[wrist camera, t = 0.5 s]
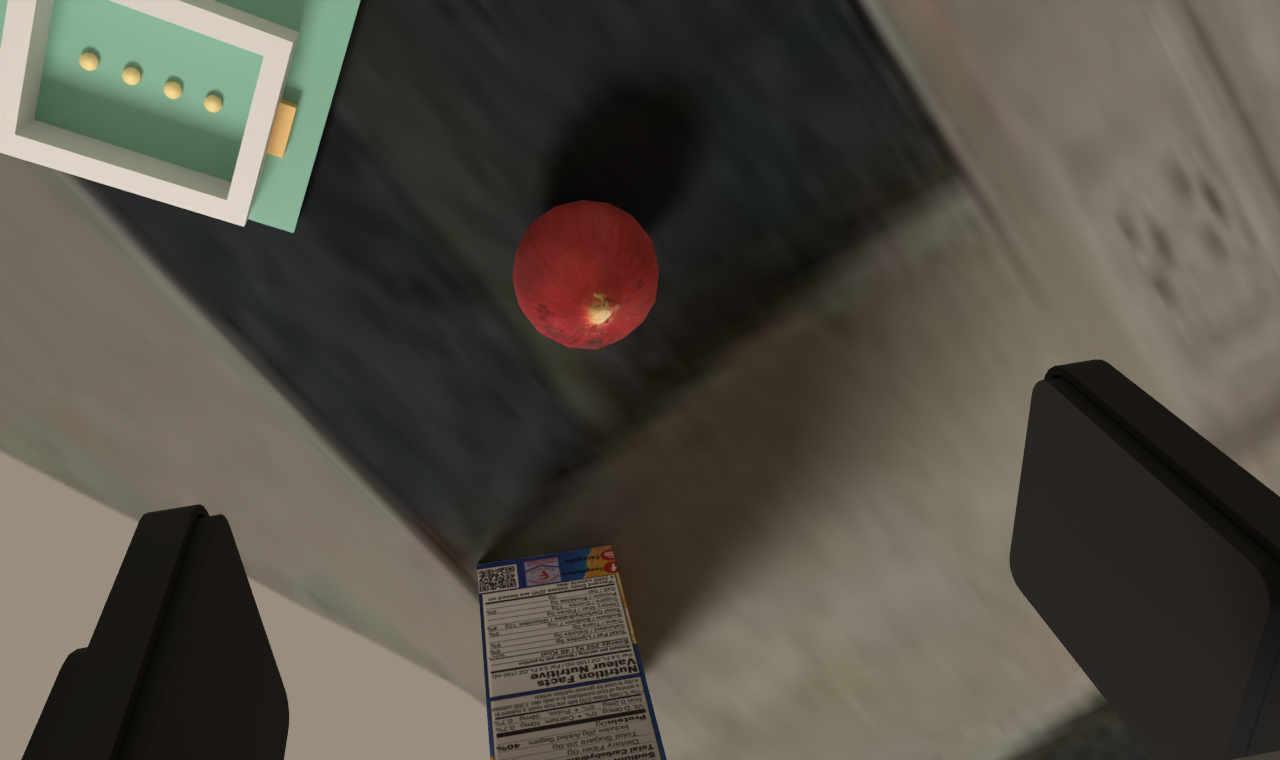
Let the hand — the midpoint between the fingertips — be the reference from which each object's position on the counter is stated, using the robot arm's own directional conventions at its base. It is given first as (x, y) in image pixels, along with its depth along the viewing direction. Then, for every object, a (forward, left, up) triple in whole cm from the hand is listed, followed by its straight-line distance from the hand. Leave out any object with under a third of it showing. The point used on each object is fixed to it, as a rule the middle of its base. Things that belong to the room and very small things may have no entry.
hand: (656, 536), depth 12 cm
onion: (+7, +6, -32) cm, 33 cm away
